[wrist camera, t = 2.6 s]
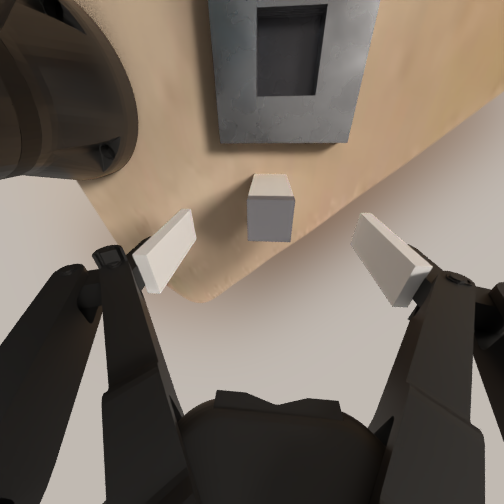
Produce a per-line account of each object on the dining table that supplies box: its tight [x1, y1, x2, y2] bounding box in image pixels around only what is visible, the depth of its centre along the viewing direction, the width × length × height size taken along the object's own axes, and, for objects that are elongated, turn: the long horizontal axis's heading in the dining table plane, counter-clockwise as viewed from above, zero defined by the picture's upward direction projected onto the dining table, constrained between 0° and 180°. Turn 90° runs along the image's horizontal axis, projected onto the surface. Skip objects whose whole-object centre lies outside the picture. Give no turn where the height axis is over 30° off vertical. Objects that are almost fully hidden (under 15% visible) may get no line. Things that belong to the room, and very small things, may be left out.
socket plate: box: [208, 0, 380, 143], centre depth 16 cm, size 12×12×3 cm
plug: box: [247, 174, 295, 242], centre depth 19 cm, size 4×4×9 cm
